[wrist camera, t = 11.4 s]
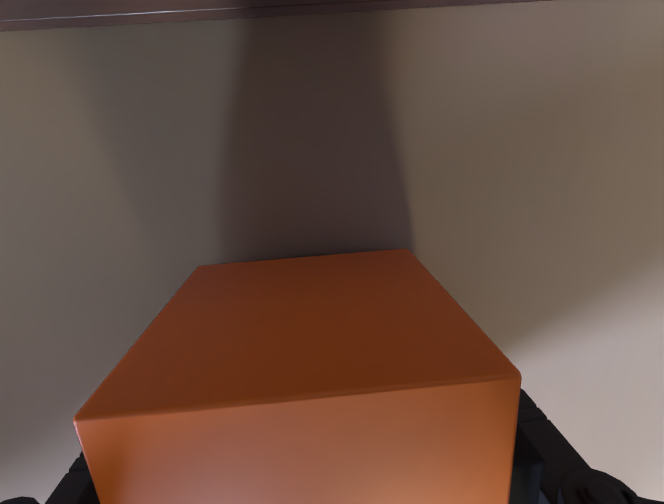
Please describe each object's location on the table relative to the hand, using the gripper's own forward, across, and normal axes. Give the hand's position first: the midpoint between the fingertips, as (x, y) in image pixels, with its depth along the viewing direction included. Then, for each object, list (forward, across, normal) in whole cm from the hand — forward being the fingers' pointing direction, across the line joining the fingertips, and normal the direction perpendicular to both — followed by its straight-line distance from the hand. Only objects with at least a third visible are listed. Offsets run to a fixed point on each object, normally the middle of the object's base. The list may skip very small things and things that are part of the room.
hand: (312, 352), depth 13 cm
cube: (0, 0, 0) cm, 0 cm away
